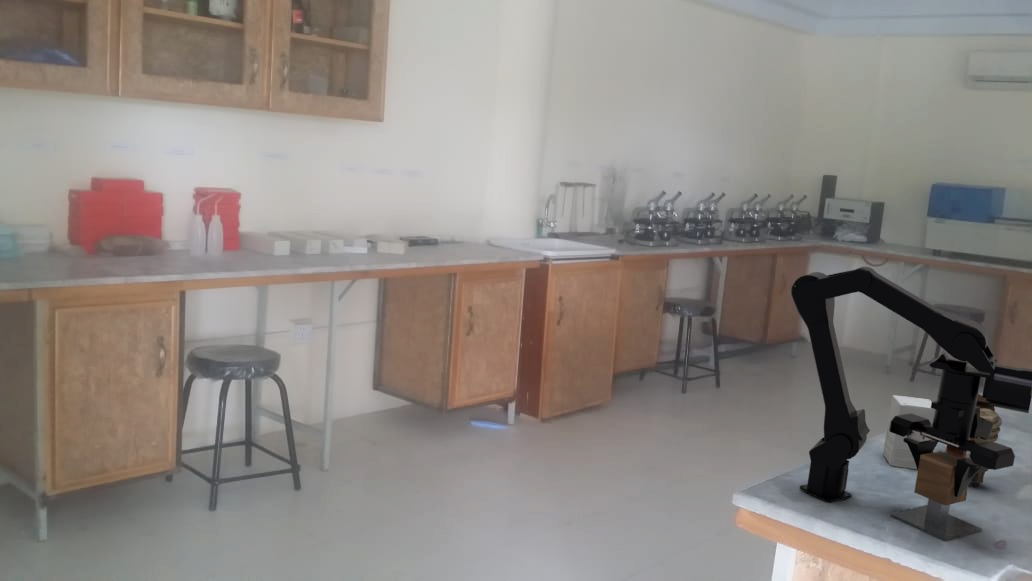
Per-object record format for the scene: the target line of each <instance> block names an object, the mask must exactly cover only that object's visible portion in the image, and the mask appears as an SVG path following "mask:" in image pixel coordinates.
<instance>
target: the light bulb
mask: <svg viewBox="0 0 1032 581" xmlns="http://www.w3.org/2000/svg"><path fill="white" fill-rule="evenodd" d="M980 417H982V418H984V419H986V420H988V421H990V422H992V423H994V425H993V427H992V430H991V432H990V435H989V438H988V440H987V441H986V440H983V439H981V438H980V437H979V438H978V439H975V442H976V443H983V442H989V441H992V442H996V441H997V440H998V438H999V433H1000V432H1001V426H1002V424H1003V420H1002V418H1001V417H1000V415H999V413H998V412H996V410H995V411H993V410H991V409H986V408H980ZM963 458H966V452H965V451H964V454H963ZM989 470H990V469H988V468H985V467H982V468H980V469H979V471H978V472H977V473H976V474H975V475H974V477H973V478H972V479H971V481H970V483H971V485H972V486H974V487H979V486H980V484H982V483H983V482H984V476H985V474H986V472H988V471H989Z"/></svg>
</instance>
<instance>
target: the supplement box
mask: <svg viewBox="0 0 1032 581" xmlns="http://www.w3.org/2000/svg"><path fill="white" fill-rule="evenodd" d="M890 402H891V403H890V408H889V415H888V420H887V426H886V431H885V432H886V433H885V437H884V438H885V439H884V440H885V441H884V445H883V451H882V455H884V457H885V460H886V461H887V462H888V464H889V465H890V466H892V467H897V468H905V469H911V470H917V467H916V464H915V461H914V458H913V456H912V453H911V451H910V449H909V446H908V444H907V443H905V442H904V441H903V439H904V438H907V435H906V436H904V437H902V436H900V435H897V434H894V433H892V432H890V431H889V427H890V421H891V420H892V419H893V417H895V416H898V415H904V414H914V415H917V416H920V417H923V418H926V419H929V421H930V423H931V425H933V419H934V413H935V409H933V408H931V403H932V402H933V401H931V399H928V398H919V397H912V396H904V395H895V394H892V397H891V401H890Z"/></svg>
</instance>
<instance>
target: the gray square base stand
mask: <svg viewBox="0 0 1032 581" xmlns="http://www.w3.org/2000/svg"><path fill="white" fill-rule="evenodd" d="M927 499H928V498H927ZM950 506H951V504H950V505H946V506H945V505H942V504H940V503H938V502H935V501H933V500H931V499H928V500H927V504H924V505H921V506H917V507H913V508H908V509H904V510H901V511H896V512H891V513H890V515H889V516H890V517H892V518H894V519H896V520H898V521H901V522H903V523H905V524H908V525H909V526H911V527H913V528H915V529H917V530H920V531H922V532H925V533H926V534H928V535H931V536H933V537H935V538H937V539H940V540H942V541H944V542H947V541H952V540H954V539H959V538H961V537H964V536H968V535H971V534H972V535H973V534H976V533H979V532H982V530H983V528H982V527H980V526H977V525H975V524H973V523H970V522H968V521H965V520H963V519H961V518H958V517H956V516H954V515H951V514H950V513H949V512H950Z"/></svg>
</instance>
